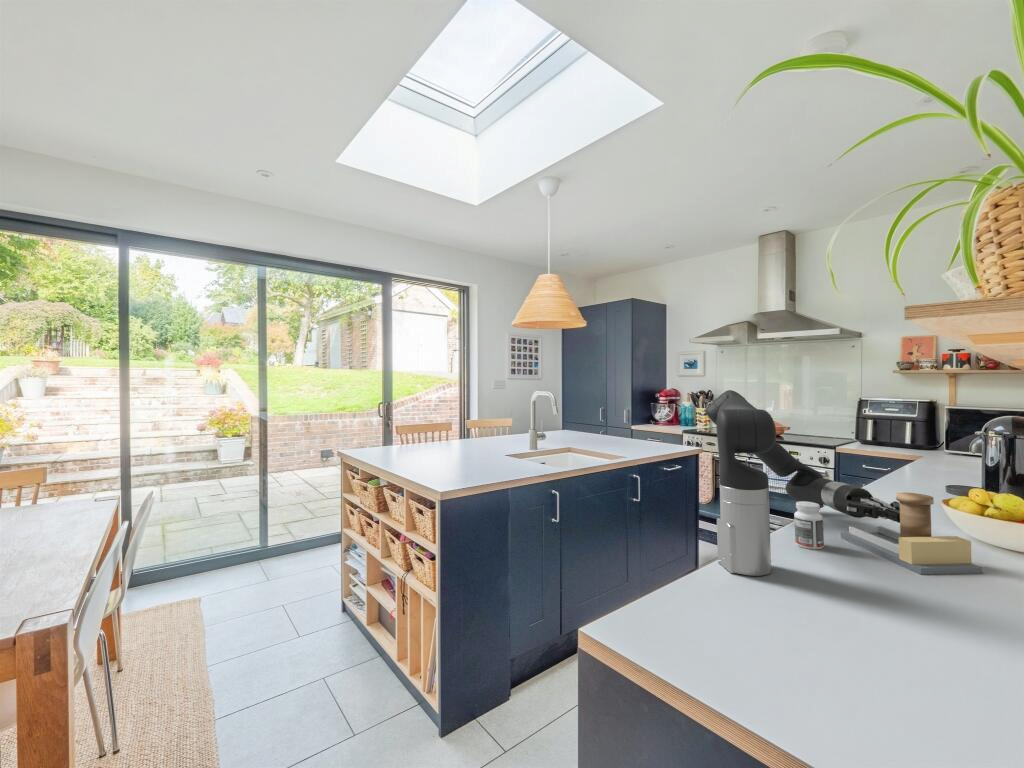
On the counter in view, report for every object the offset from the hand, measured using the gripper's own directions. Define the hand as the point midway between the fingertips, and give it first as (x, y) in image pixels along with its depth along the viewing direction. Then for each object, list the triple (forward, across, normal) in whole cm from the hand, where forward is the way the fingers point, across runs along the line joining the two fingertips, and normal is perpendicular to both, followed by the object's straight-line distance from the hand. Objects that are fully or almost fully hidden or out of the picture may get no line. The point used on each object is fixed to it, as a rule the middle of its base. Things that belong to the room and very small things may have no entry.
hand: (905, 518), depth 99 cm
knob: (+3, 0, +6) cm, 7 cm away
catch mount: (-1, 0, +8) cm, 8 cm away
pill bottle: (-7, -17, +8) cm, 20 cm away
